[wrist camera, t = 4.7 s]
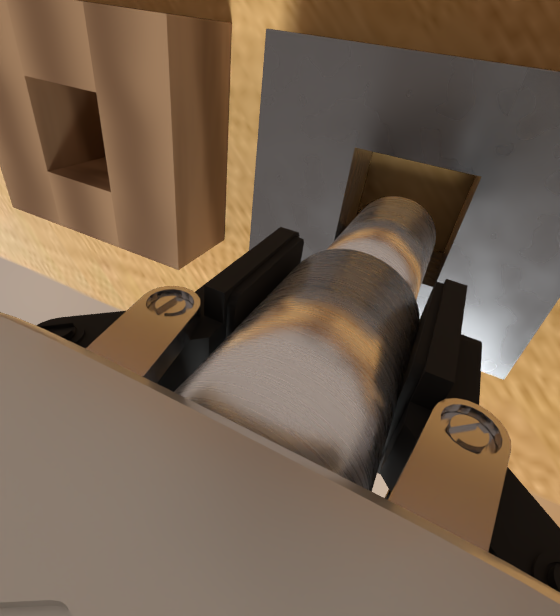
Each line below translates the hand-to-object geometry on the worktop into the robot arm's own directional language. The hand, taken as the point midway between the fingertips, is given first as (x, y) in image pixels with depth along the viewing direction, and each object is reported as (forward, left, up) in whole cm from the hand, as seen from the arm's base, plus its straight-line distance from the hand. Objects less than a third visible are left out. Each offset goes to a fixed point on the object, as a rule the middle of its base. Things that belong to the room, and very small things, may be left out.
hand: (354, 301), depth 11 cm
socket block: (0, 0, -11) cm, 11 cm away
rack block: (+14, -11, -11) cm, 21 cm away
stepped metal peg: (0, 0, -5) cm, 5 cm away
